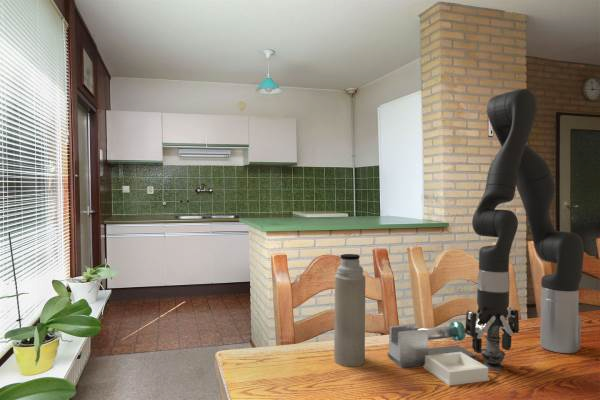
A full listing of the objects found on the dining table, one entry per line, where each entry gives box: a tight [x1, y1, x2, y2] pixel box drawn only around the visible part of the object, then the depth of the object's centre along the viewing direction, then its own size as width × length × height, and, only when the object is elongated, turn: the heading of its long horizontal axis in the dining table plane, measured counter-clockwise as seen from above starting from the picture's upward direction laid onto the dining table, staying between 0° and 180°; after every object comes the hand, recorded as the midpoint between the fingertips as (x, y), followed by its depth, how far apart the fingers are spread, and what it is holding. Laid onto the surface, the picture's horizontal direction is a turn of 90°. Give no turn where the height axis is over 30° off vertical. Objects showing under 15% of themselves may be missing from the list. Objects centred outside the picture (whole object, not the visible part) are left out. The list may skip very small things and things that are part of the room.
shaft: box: [417, 321, 467, 342], centre depth 120 cm, size 13×5×5 cm, turn 106°
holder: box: [423, 352, 491, 387], centre depth 110 cm, size 11×11×3 cm
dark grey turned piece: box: [480, 325, 506, 371], centre depth 114 cm, size 6×6×12 cm
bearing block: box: [387, 323, 478, 369], centre depth 120 cm, size 22×8×8 cm, turn 106°
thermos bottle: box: [333, 253, 366, 367], centre depth 117 cm, size 8×8×28 cm
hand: (491, 350), depth 114 cm, fingers open, 8 cm apart
